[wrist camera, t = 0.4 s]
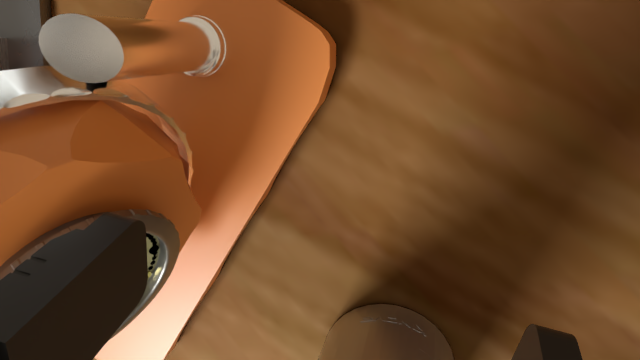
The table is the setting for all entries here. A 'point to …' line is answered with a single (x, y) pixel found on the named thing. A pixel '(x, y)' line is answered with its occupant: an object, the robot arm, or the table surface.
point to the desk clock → (158, 139)
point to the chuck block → (22, 33)
